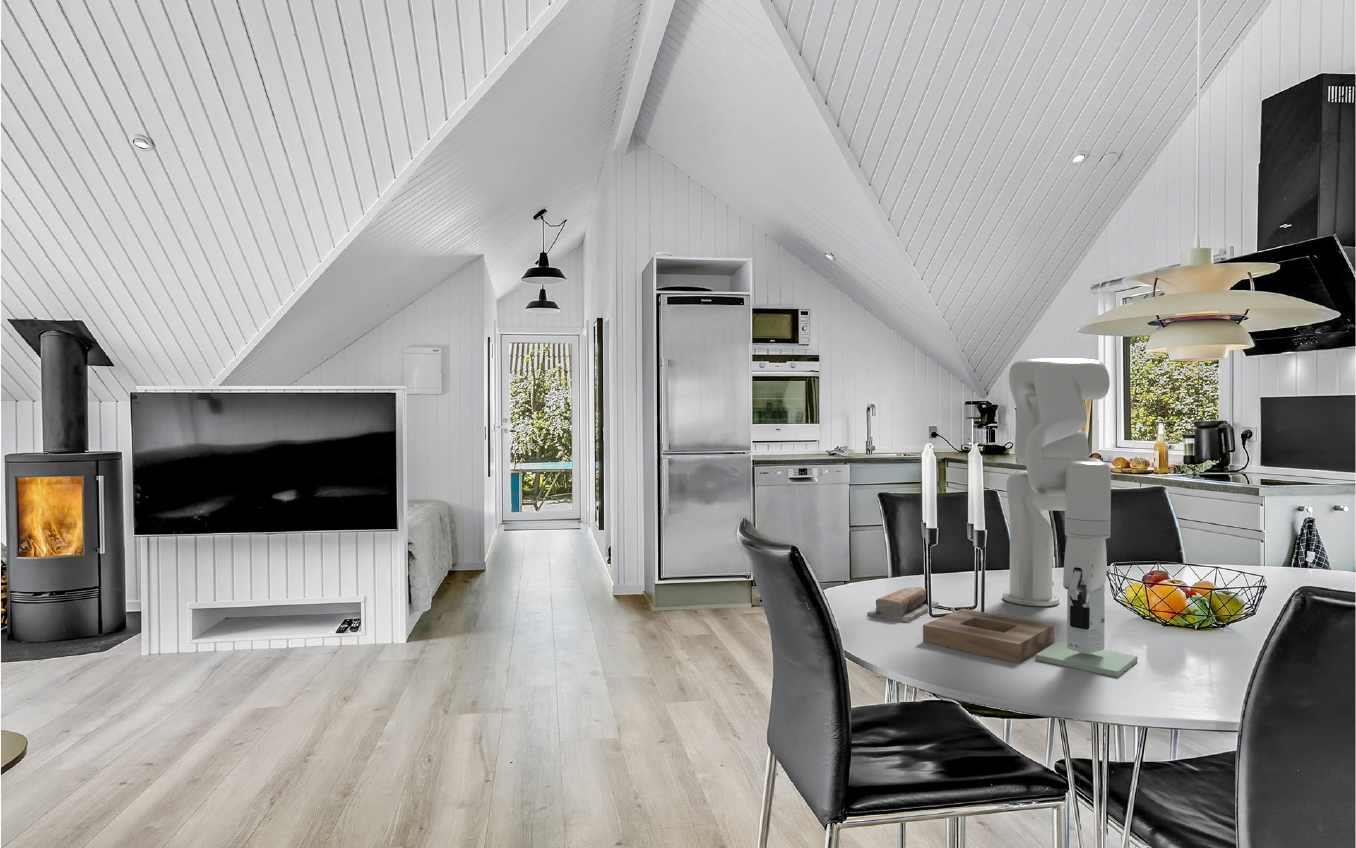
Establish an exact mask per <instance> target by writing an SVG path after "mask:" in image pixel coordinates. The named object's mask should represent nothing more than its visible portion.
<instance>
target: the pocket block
mask: <svg viewBox="0 0 1356 848" xmlns="http://www.w3.org/2000/svg"><path fill="white" fill-rule="evenodd" d="M924 642H926V643H925V644H929V643H930V644H929V645H934V646H938V645H939V646H938V647H943V648H947V647H949V648H948V649H953V650H958V651H961V650H962V651H963V652H966V653H970V652H972V654H976V655H980V654H981V655H980V656H984V657H985V656H986V657H989V658H994V659H999V660H1004V661H1007V662H1013V663H1017V664H1021V662H1024V661H1025V660H1027V659H1028V658H1030V657H1032V656H1033V655H1036V654H1037V653H1039V652H1041V651H1042V650H1044V649H1046V648H1047V647H1049V646H1051V645H1052V644H1054V643H1055V625H1054V624H1050V623H1046V622H1038V621H1034V620H1029V619H1023V618H1017V617H1013V616H1007V615H1006V616H1005V615H1001V614H996V613H995V614H994V613H991V612H984V611H977V610H973V609H967V608H959V609H958V610H956V611H953V612H950V613H949V614H946V615H943V616H941V617H939V618H937V619H934V620H931V621H929V622H927V623H925V624H922V643H924Z"/></svg>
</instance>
